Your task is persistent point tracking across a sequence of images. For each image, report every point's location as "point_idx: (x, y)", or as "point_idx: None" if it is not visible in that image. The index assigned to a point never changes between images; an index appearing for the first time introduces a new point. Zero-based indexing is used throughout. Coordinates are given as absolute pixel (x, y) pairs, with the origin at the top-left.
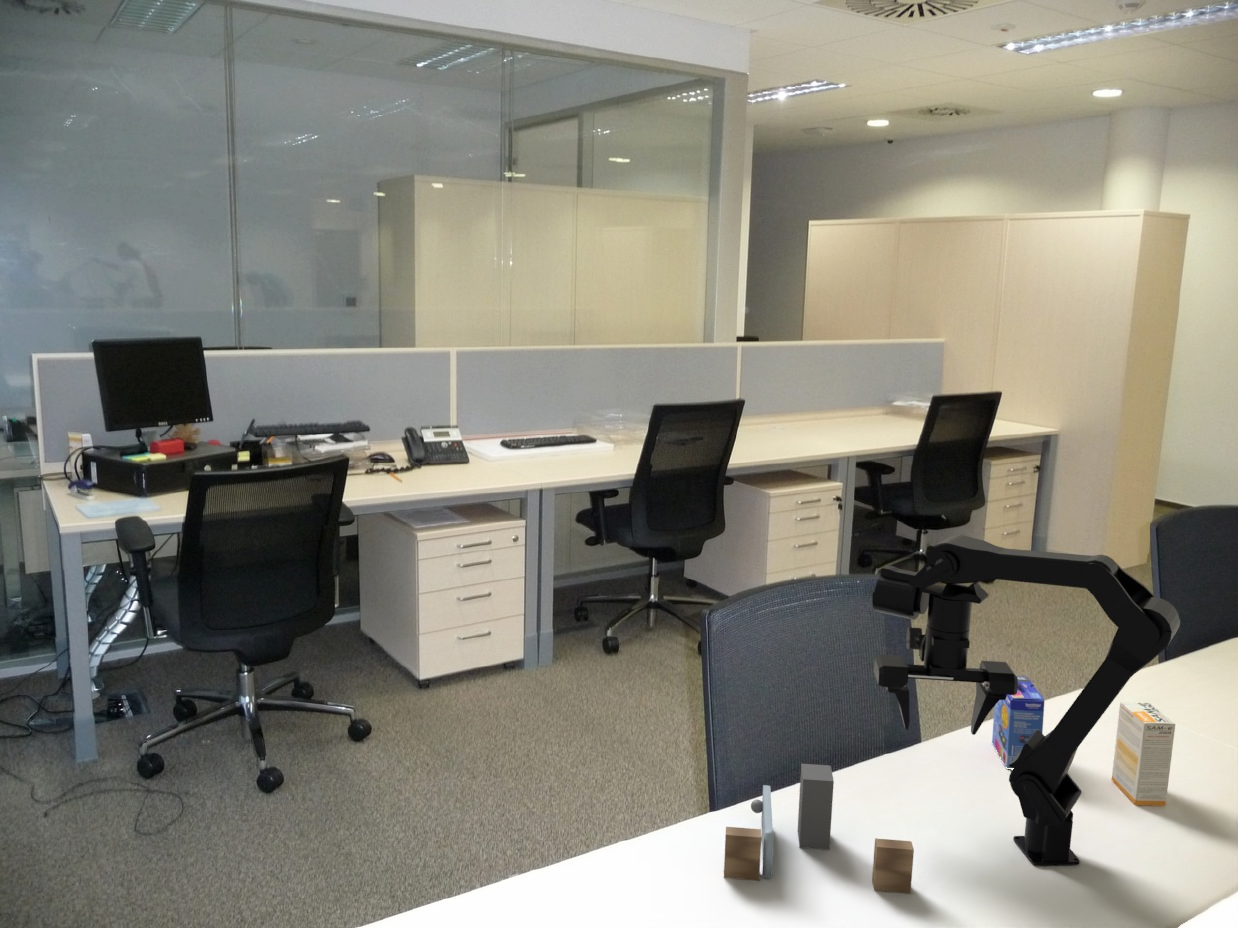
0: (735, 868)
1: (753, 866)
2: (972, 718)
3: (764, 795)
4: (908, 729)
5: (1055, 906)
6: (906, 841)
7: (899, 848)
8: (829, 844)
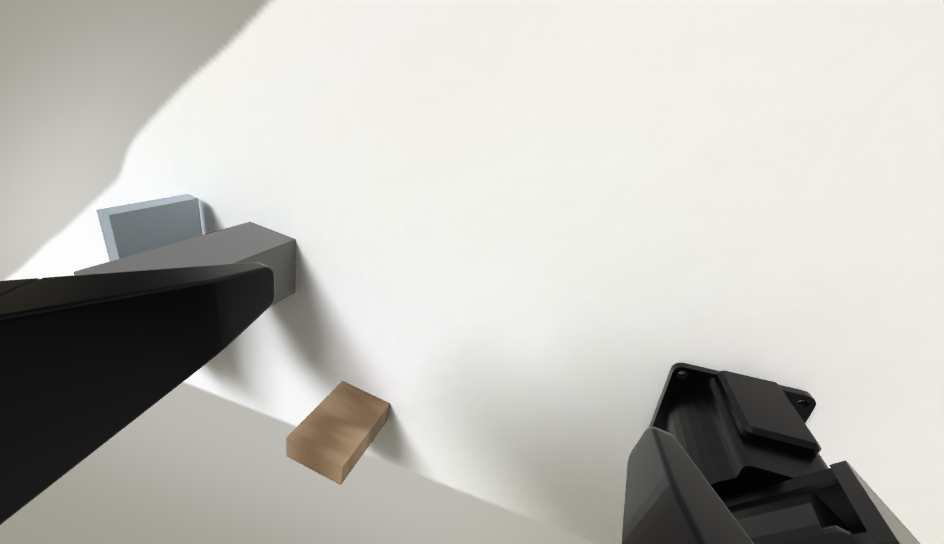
0: None
1: None
2: (671, 529)
3: (109, 254)
4: (270, 305)
5: (593, 520)
6: (335, 463)
7: (319, 473)
8: (286, 296)
